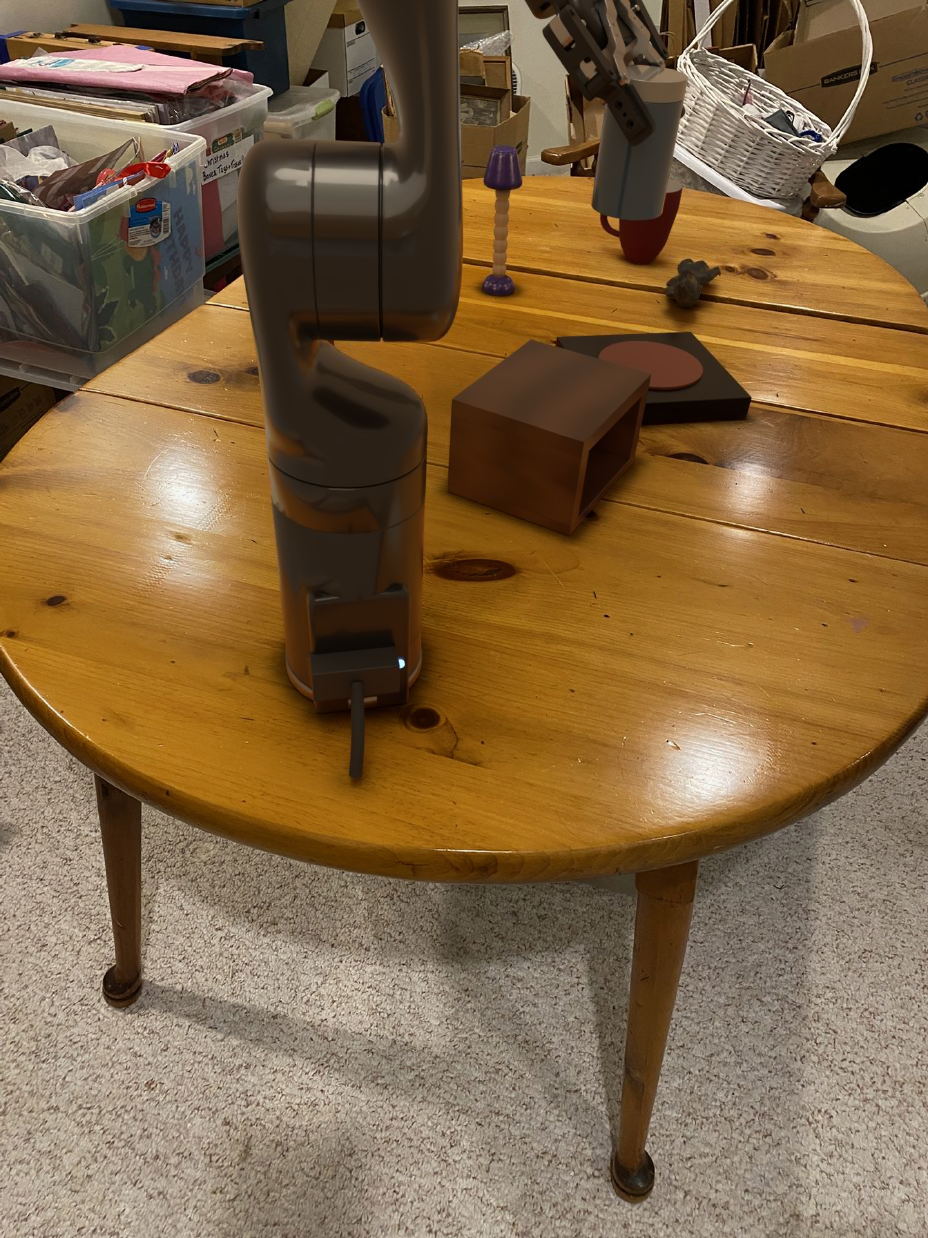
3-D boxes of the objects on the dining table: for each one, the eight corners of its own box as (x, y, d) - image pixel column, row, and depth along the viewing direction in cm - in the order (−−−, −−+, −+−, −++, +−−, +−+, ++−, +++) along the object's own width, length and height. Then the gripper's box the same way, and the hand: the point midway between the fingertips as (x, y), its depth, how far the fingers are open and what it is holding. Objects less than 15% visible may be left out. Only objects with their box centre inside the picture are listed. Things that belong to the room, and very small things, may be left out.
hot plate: (745, 419, 95) (752, 394, 93) (598, 428, 92) (603, 402, 90) (686, 351, 107) (691, 328, 105) (553, 357, 104) (556, 333, 102)
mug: (587, 260, 128) (597, 183, 121) (600, 242, 134) (611, 168, 127) (662, 273, 125) (677, 196, 119) (672, 255, 131) (687, 180, 125)
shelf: (633, 461, 87) (651, 373, 81) (569, 536, 78) (584, 441, 72) (521, 425, 91) (530, 338, 86) (446, 491, 82) (451, 398, 76)
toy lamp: (493, 299, 115) (503, 155, 104) (469, 287, 118) (477, 145, 107) (521, 291, 118) (534, 149, 107) (497, 279, 120) (508, 140, 110)
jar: (673, 220, 76) (700, 82, 69) (604, 220, 75) (625, 81, 68) (647, 196, 80) (670, 65, 74) (581, 197, 79) (599, 63, 73)
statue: (672, 294, 127) (656, 319, 110) (675, 251, 125) (658, 270, 108) (720, 293, 125) (710, 319, 108) (723, 250, 123) (714, 270, 106)
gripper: (537, -113, 62) (668, 116, 65) (619, -117, 71) (729, 83, 75) (463, -27, 67) (588, 180, 71) (549, -41, 77) (655, 142, 80)
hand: (660, 129), depth 73 cm, fingers closed on jar, 6 cm apart
